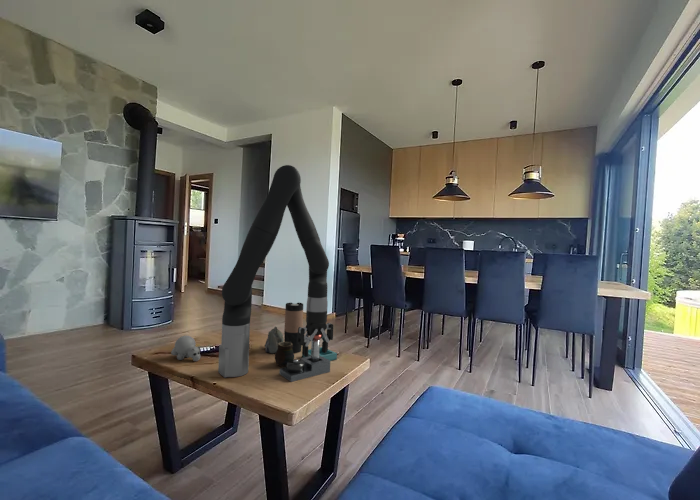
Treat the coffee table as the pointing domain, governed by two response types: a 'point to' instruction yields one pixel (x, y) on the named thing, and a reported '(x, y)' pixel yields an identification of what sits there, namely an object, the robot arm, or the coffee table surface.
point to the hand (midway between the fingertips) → (315, 354)
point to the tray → (325, 354)
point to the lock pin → (315, 348)
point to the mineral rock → (273, 340)
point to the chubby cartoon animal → (186, 348)
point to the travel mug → (293, 324)
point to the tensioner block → (304, 368)
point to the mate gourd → (284, 353)
